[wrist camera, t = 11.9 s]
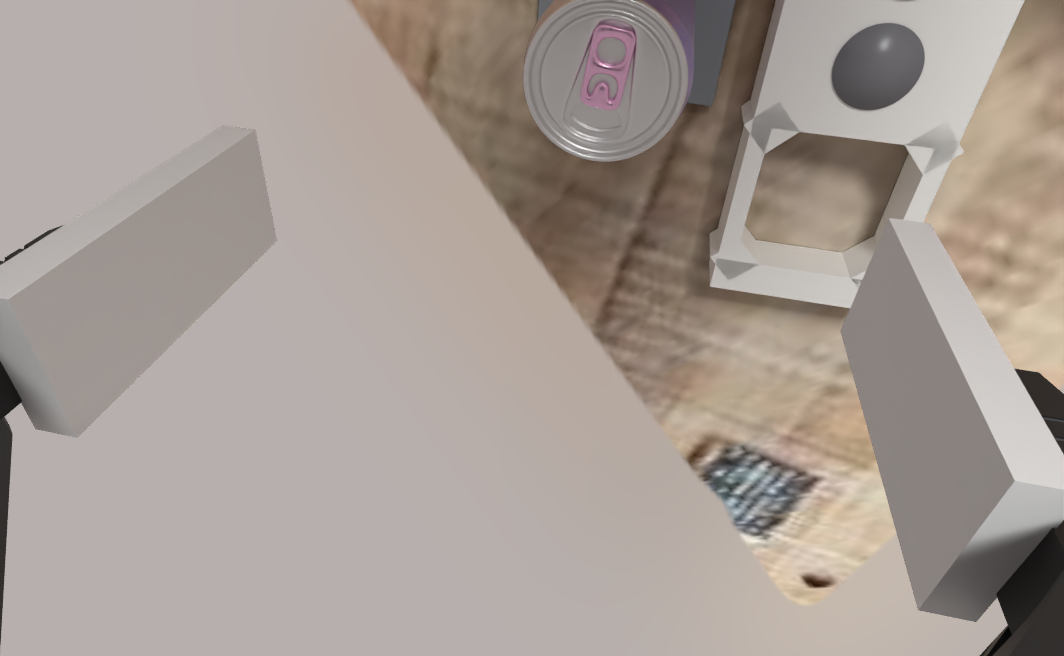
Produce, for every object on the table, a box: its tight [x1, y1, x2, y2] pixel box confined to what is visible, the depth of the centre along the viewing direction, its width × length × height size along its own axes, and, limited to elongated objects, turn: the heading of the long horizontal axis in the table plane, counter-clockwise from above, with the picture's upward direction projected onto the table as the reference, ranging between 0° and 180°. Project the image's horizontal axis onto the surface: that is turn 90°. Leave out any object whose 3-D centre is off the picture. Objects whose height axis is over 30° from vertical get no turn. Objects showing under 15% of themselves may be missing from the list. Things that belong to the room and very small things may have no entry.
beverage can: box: [523, 0, 695, 162], centre depth 29 cm, size 6×6×15 cm
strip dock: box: [709, 0, 1025, 308], centre depth 32 cm, size 30×11×4 cm, turn 177°
